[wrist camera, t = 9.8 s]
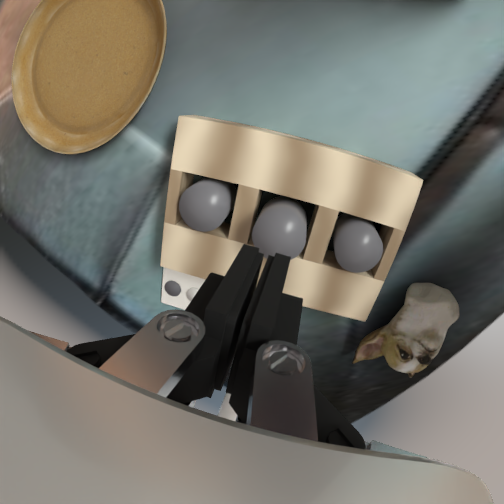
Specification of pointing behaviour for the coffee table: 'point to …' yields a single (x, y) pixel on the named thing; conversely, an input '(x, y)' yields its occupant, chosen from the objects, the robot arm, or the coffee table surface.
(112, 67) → the plant saucer
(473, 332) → the coffee table surface
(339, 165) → the button board
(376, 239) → the button
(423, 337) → the ceramic sculpture
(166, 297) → the pattern card
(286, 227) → the middle button
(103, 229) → the coffee table surface
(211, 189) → the button
